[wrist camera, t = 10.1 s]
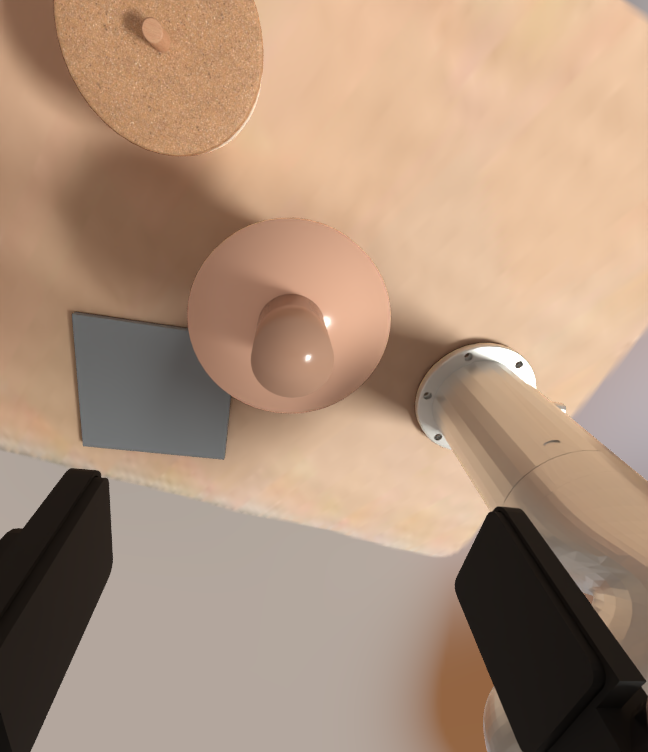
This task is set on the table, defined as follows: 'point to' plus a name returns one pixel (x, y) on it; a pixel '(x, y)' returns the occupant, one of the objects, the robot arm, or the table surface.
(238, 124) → the lidded jar
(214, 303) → the lid
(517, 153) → the table surface
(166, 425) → the mat
